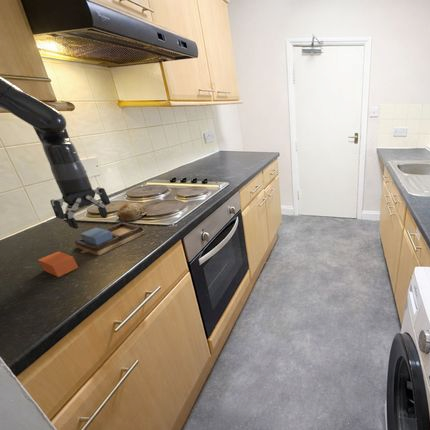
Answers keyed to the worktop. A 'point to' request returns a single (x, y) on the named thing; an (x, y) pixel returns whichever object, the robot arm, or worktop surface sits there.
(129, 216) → the bread roll
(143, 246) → the worktop surface
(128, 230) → the brown wooden tray
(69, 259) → the terracotta pad
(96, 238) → the blue bevelled block
